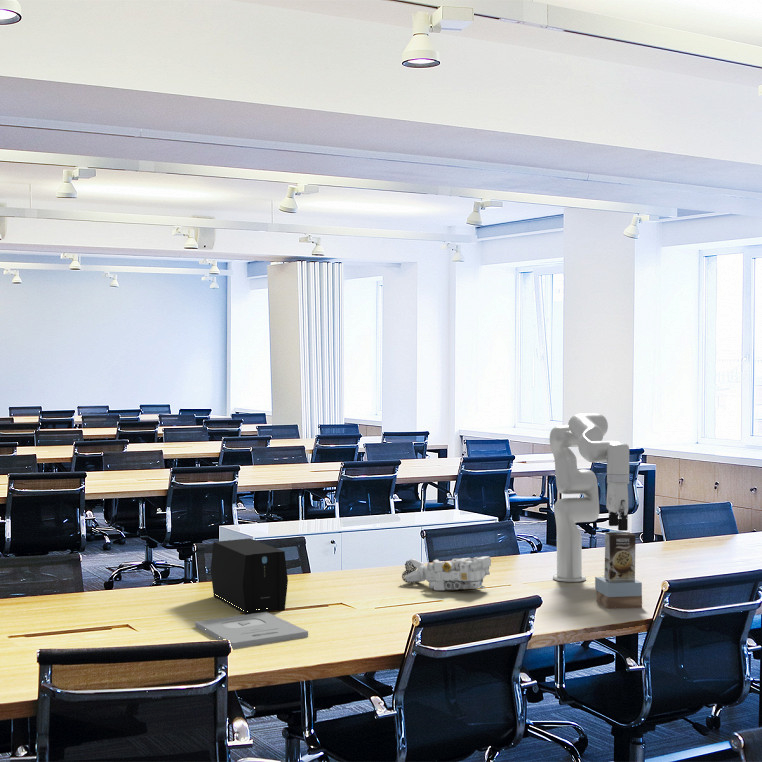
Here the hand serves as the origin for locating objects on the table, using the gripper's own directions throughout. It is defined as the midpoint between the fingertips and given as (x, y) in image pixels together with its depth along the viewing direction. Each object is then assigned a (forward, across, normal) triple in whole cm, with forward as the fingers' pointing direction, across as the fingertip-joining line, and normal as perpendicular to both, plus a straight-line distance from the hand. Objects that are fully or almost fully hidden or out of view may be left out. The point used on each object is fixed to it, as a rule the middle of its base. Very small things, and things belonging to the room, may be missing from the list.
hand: (618, 528), depth 340 cm
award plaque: (+27, +24, -126) cm, 131 cm away
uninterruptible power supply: (+27, -17, -128) cm, 132 cm away
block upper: (+22, +1, 0) cm, 22 cm away
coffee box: (+18, +2, 0) cm, 18 cm away
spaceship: (+27, -32, -56) cm, 70 cm away
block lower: (+27, +1, 0) cm, 27 cm away
